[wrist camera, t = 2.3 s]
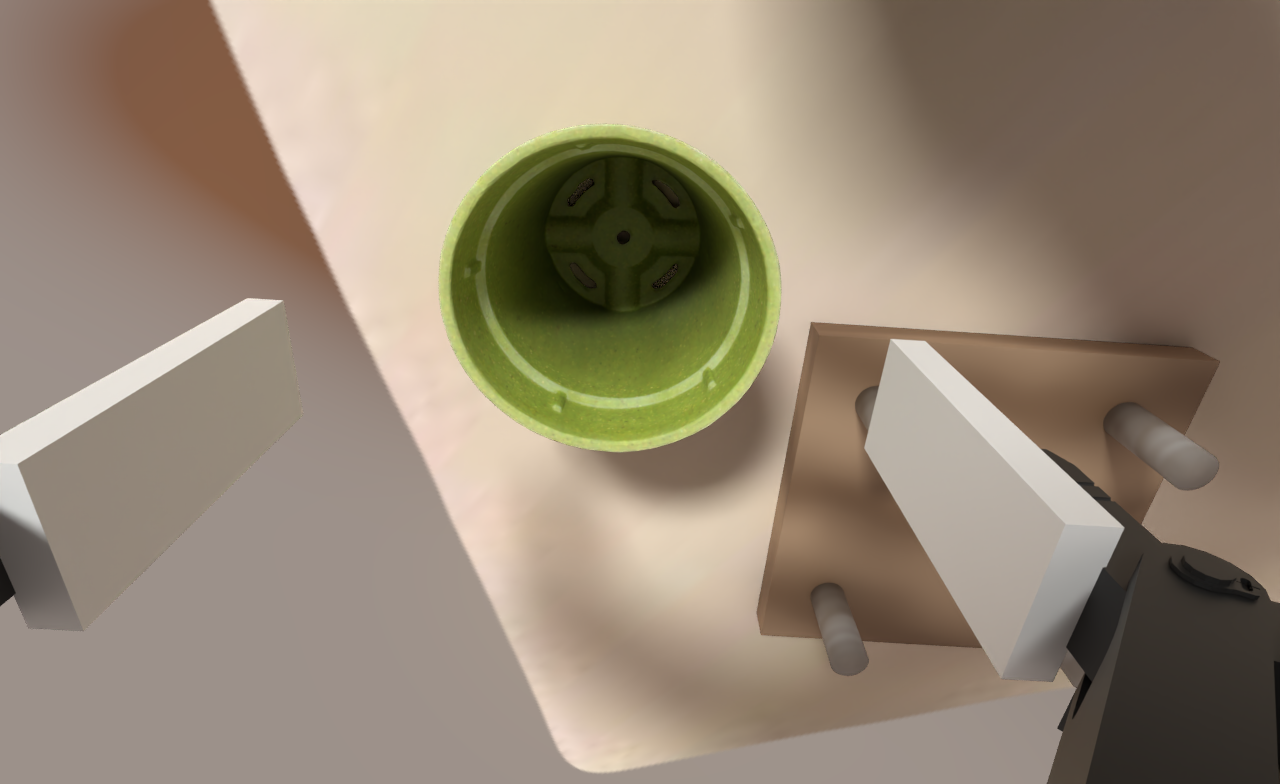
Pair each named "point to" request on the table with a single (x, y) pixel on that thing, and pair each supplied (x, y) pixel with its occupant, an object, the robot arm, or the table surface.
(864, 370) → the stand
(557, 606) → the table surface
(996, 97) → the table surface
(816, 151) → the table surface
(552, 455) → the table surface
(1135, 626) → the robot arm
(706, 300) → the plant pot
